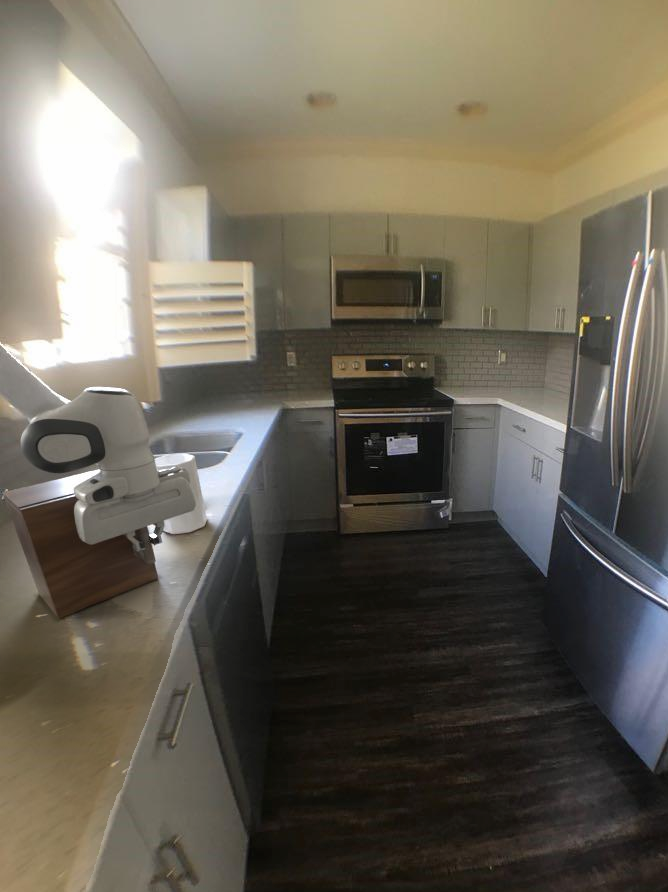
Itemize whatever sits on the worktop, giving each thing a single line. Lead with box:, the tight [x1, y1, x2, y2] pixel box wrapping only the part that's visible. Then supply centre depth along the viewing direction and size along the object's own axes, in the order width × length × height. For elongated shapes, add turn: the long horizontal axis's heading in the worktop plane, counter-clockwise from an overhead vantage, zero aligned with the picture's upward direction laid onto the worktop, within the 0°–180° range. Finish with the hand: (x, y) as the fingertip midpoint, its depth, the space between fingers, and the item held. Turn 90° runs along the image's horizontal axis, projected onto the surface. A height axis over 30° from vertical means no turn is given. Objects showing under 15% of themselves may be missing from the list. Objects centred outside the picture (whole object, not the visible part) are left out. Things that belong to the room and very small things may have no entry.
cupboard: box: [2, 469, 100, 617], centre depth 92 cm, size 12×18×22 cm, turn 139°
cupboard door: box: [20, 495, 159, 619], centre depth 85 cm, size 8×18×22 cm, turn 138°
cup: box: [154, 453, 208, 535], centre depth 119 cm, size 11×11×18 cm
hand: (148, 546), depth 87 cm, fingers closed on cupboard door, 2 cm apart
